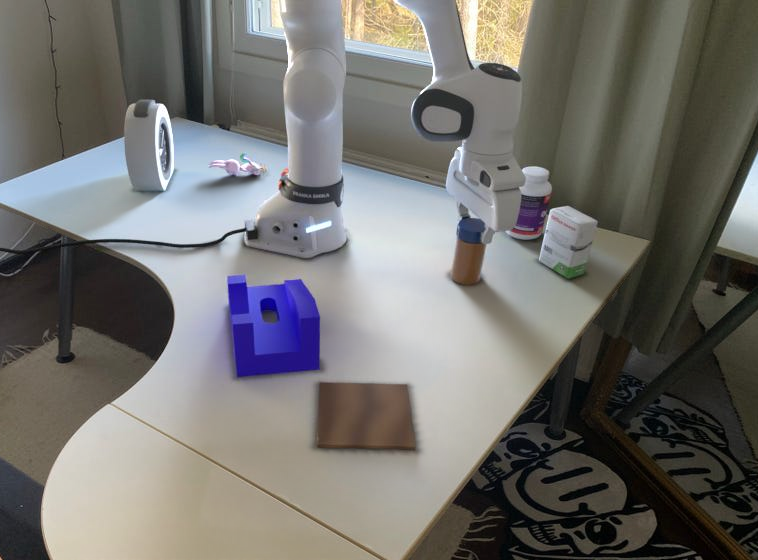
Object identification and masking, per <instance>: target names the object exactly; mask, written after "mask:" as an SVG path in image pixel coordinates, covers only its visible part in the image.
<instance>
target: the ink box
mask: <svg viewBox="0 0 758 560" xmlns="http://www.w3.org/2000/svg"><path fill="white" fill-rule="evenodd" d="M598 223H599V221H598V220H596V219H595V218H593V217H591V216H589V215H587V214H585V213H584V212H581V211H579V210H577V209H575V208H573V207H571V206H569V205H564V206H560V207H554V208H551V209H550V210H549V213H548V217H547V223H546V226H545V232H544V235H543V240H542V245H541V249H540V253H539V258H538V262H540V263H541V264H543V265H545V266H546V267H548V268H550V269H551V270H552V271H554V272H556V273H557V274H559V275H560V276H563V277H564V278H566V279H567V280H569V279H572V278H575V277H578V276H581V275H584V274H585V272H586V271H585V270H586V267H587V263H588V259H589V256H590V252H591V248H592V245H593V241H594V238H595V235H596V230H597V226H598Z"/></svg>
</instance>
